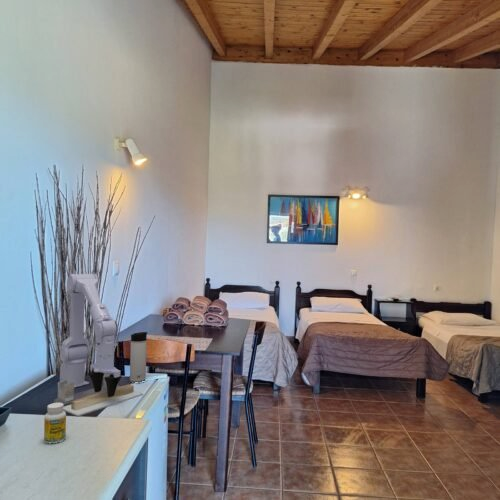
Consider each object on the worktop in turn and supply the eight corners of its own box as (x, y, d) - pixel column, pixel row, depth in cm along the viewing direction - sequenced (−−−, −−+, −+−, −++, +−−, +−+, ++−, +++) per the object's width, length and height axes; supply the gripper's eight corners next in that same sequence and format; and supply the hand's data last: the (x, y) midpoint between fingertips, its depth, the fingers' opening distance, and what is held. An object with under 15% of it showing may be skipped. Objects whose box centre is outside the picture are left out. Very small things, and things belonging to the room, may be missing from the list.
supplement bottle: (61, 434, 115) (62, 400, 115) (68, 440, 111) (69, 405, 111) (41, 439, 111) (42, 404, 111) (47, 446, 107) (48, 410, 107)
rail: (71, 408, 132) (71, 401, 132) (129, 390, 151) (129, 384, 151) (75, 410, 131) (75, 402, 131) (133, 392, 149) (133, 385, 149)
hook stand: (53, 403, 138) (54, 382, 138) (111, 386, 157) (111, 368, 157) (63, 407, 135) (63, 386, 135) (121, 389, 153) (121, 371, 154)
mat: (60, 409, 133) (60, 407, 133) (126, 389, 154) (126, 387, 154) (77, 416, 127) (77, 414, 127) (143, 394, 148) (143, 393, 148)
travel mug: (142, 384, 160) (143, 333, 160) (126, 383, 161) (128, 332, 162) (149, 379, 166) (150, 331, 167) (134, 378, 167) (135, 330, 168)
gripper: (83, 353, 142) (81, 392, 142) (108, 360, 133) (107, 401, 133) (100, 350, 148) (99, 387, 147) (125, 356, 139) (124, 396, 139)
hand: (104, 394), depth 141 cm, fingers open, 7 cm apart
